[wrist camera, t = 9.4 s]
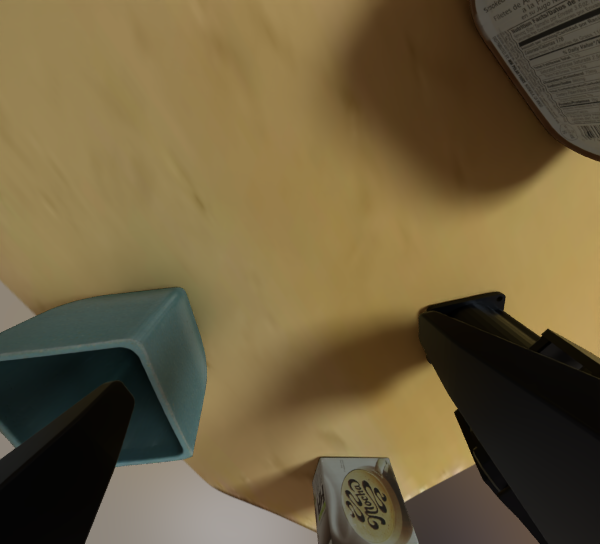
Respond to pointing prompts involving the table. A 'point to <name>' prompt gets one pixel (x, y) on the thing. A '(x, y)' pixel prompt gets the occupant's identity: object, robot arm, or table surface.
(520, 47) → the tin
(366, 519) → the coffee box
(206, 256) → the table surface
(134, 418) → the flower pot
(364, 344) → the table surface
